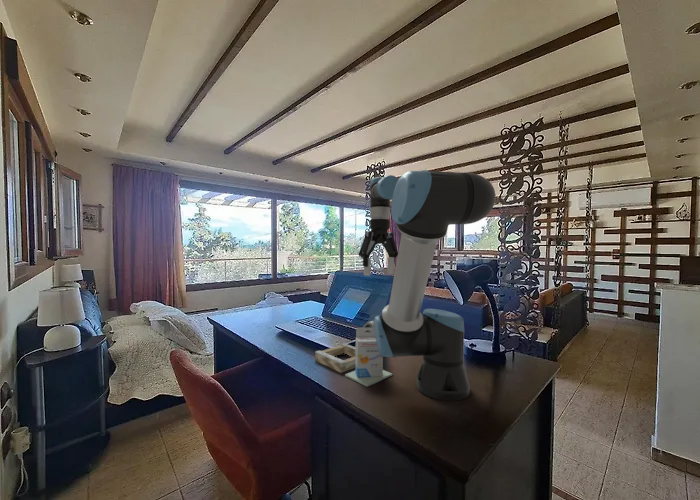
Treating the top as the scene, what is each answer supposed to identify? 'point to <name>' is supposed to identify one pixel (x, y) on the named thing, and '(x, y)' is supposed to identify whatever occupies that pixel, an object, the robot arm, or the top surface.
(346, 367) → the dispenser collar
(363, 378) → the mat
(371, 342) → the ink box
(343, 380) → the top surface
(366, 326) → the watch
